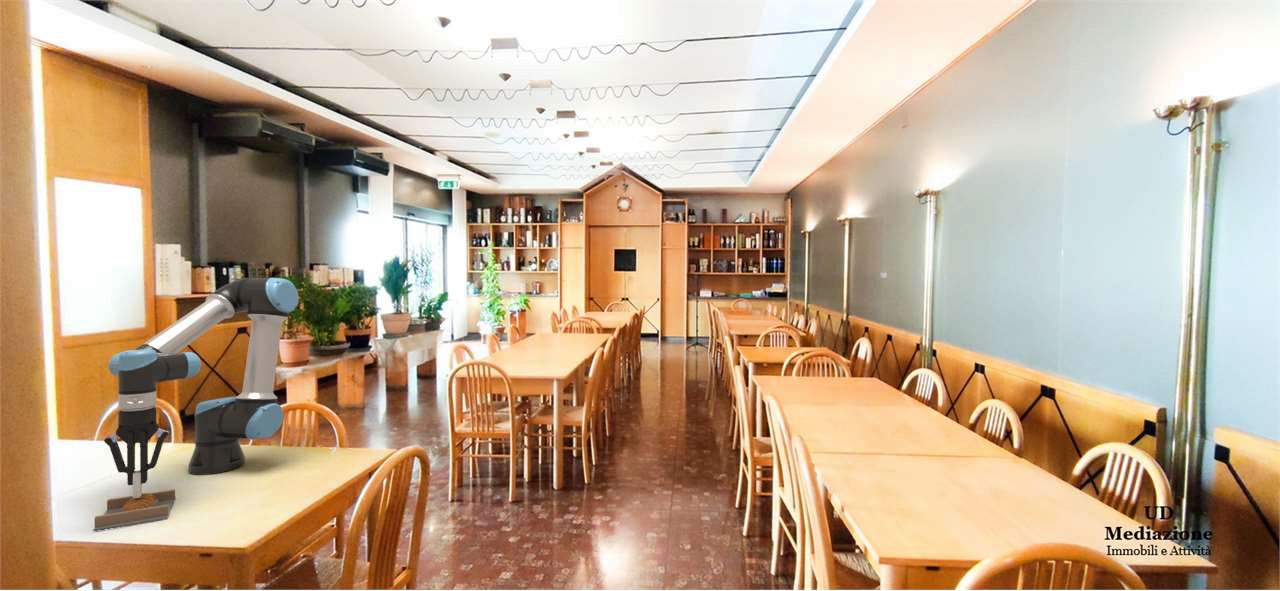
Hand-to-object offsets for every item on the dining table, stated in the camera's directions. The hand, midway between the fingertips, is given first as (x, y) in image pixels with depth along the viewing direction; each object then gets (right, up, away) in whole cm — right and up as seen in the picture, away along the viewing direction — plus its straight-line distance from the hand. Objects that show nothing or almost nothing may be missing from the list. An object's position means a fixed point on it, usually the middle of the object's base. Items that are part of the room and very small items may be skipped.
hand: (137, 496), depth 147 cm
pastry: (0, -5, +1) cm, 5 cm away
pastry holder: (0, -5, 0) cm, 5 cm away
